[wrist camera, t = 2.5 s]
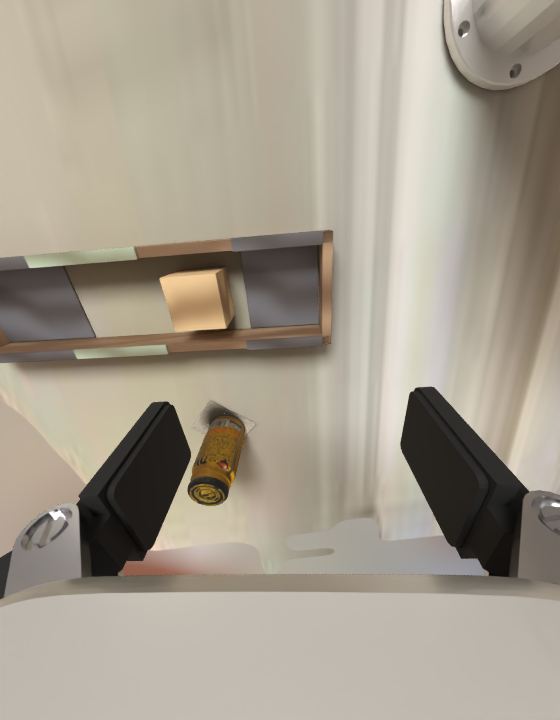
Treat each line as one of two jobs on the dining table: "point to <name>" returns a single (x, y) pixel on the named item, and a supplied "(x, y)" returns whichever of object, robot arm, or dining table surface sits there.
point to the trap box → (266, 309)
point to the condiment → (217, 454)
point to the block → (198, 299)
